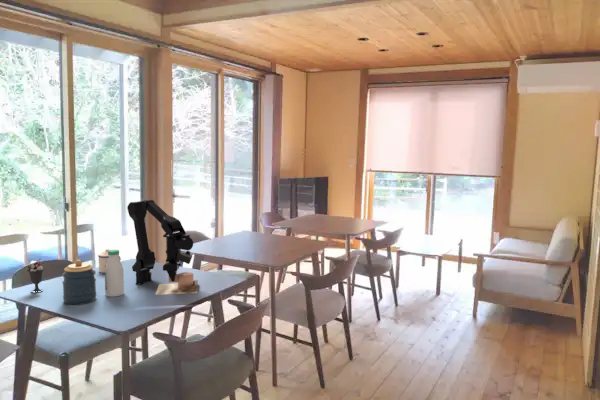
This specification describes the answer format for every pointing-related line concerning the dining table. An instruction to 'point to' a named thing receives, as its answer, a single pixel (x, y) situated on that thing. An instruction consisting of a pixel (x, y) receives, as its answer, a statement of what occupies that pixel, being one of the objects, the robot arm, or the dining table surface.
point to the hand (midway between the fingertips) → (173, 280)
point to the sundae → (36, 274)
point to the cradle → (176, 289)
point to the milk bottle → (114, 275)
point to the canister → (79, 283)
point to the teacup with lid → (103, 260)
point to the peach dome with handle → (183, 279)
